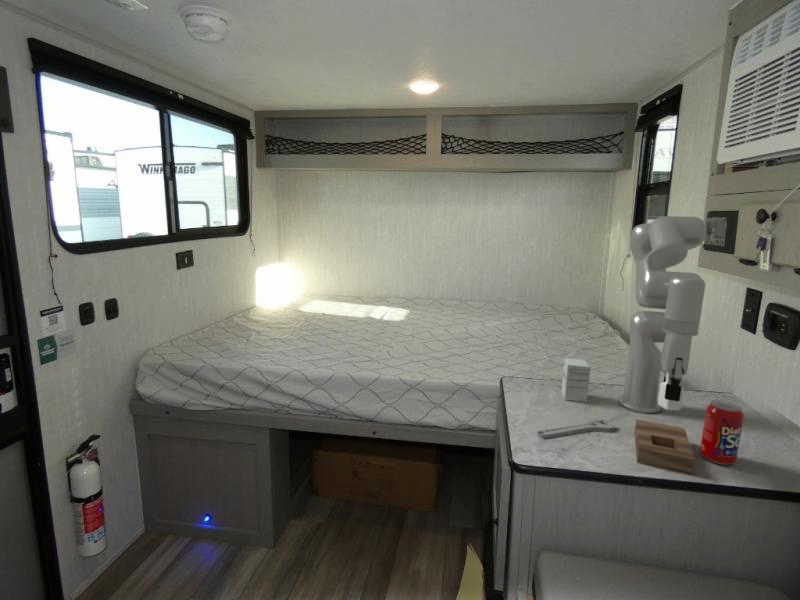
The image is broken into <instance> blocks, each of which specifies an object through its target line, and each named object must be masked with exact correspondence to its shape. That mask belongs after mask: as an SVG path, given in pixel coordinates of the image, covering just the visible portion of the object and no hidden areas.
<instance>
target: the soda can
mask: <svg viewBox="0 0 800 600" xmlns="http://www.w3.org/2000/svg"><path fill="white" fill-rule="evenodd" d="M744 419H745V414H744V412H743V408H742V406H740V405H738V404H737V403H734V402H730V401H727V400H723V399H722V400H721V399H720V400H719V399H715V400H711V402H710V404H708V405H707V407H706V410H705V416H704V422H703V428H702V434H701V435H702V436H701V441H700V446H699V447H700V448H699V453H700V454H701V456H703V457H704V458H705V459H706V460H708V461H709V462H711V463H714V464H716V465H724V466H725V465H726V466H727V465H732V464H735V463H736V461H737V458H738V455H739V454H738V452H739V449H740V448H739V447H740V442H741V435H742V430H743V425H744Z"/></svg>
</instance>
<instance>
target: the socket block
mask: <svg viewBox="0 0 800 600" xmlns="http://www.w3.org/2000/svg"><path fill="white" fill-rule="evenodd" d="M634 441H635V444H634V445H635V454H636V463H639V464H642V465H643V464H644V465H647V466H652V467H657V468H662V469H665V470H670V471H674V472H679V473H682V474H688V475H693V471H694V466H695V465H694V464H695V456H694V454H693V450H692V447H691V445H690V440H689V438H688V434H687V432H686V428H685V427H681V426H674V425H670V424H664V423H659V422H652V421H648V420H642V419H635V426H634Z"/></svg>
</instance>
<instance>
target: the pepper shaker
mask: <svg viewBox="0 0 800 600" xmlns="http://www.w3.org/2000/svg"><path fill="white" fill-rule="evenodd" d="M672 372H674V373H675V371H672ZM672 377H674V375H672ZM668 378H669V372H667V373H666V382H664V381H663V382H661V383H659V384H660V386H659V390H658V397H657V402H658V405H659V406H661V408H662V409H664V410H666V411H680V410H681V409H682V403H683V396H684V392H685V391H684V390H685V388H684V386H682V388H681V394H680V400H679V401H673V400H667V399H665V390H666V384H667V383H668Z"/></svg>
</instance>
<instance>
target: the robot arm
mask: <svg viewBox="0 0 800 600" xmlns="http://www.w3.org/2000/svg"><path fill="white" fill-rule="evenodd" d="M706 236H707V226H706V223H705V222H704V220H702V219H701V218H700V217H697V216H678V215H675V216H673V215H672V216H671V215H670V216H669V215H666V216H665V215H664V216H660V217H657V218H655V219H653V220H652V221H651V223H648V222H646V223H641V224H638V225H635V226H634V227H633V228H632V230H631V234H630V249H631V254H632V257H633V259H634V262H635V266H636V267H635V268H636V269H635V270H636V271H635V272H636V277H635V301H636V303H637V305H639V306H640V307H641V308H647V309H654V310H655V309H656V310H657V309H658V310H664V312H662V311H650V310H649V311H648V310H643V311H642V310H641V311H637V312H635V313H632V315H631V317H630V318H629V353H628V360H627V367H626V374H625V382H624V383H625V384H624V392H623V394H622V395H619V396H618V399H617V403H618V404H619V405H620V406H622V407H624V408H625V409H628V410H630V411H632V412H638V413H644V414H654V413H659V412H660V411H661V409H662V407H661V406H659V405H658V393H659V384H660V376H661V369H662V371H663V372H664V373H665V374H664V376H663V382H666V373H667V372H669V378H668V383H667V384H666V390H665V399H667V400H673V401H679V400H680V394H681V388H682V387H683V386H682V384H683V383H682V382H683V376H685V375H687V372H688V369H689V364H690V357H691V351H692V350H691V349H692V341H693V337H696V336H698V335H699V329H700V322H701V316H702V311H703V310H702V309H703V304H704V298H705V291H706V290H705V289H706V281H705V280H704V279H703V278H702V277H701V276H700V275H699V274H698V273H695V272H694V273H693V272H685V271H684V272H681V271H667V269H668V268H669V269H670V268H672V267H675V266H677V265H679V264H681V263H682V262H684V260H685V259H687V256H688V253H689V252H688V251H690V250H693V249H696V248H697V247H699V246H701V245H702V244H703V243H704V242H705V239H706ZM656 343H658V344H659V343H660V344H661V343H663V346H662V352H661V351H660V349H659V348H658V346H657V345H656ZM672 371H675V373H674V372H672ZM672 375H674V377H672Z"/></svg>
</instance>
